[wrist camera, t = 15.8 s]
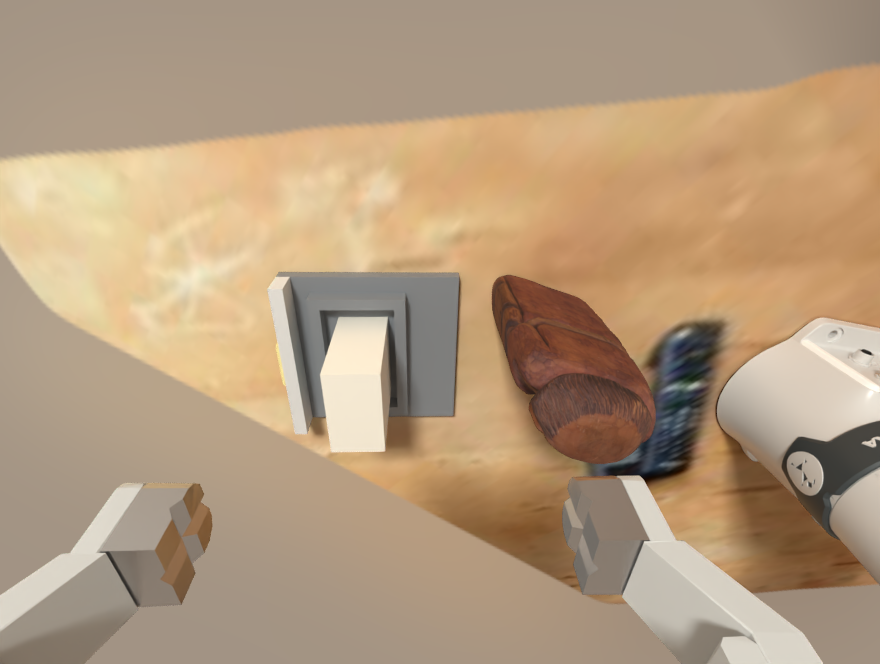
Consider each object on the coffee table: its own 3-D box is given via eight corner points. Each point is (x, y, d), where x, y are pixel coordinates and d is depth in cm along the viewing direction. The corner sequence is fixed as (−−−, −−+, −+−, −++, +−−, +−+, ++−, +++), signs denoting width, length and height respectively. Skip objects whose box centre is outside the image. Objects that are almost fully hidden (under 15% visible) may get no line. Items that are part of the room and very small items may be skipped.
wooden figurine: (470, 319, 44) (497, 461, 28) (499, 261, 41) (546, 384, 25) (576, 356, 46) (654, 503, 31) (610, 303, 43) (715, 438, 28)
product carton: (387, 316, 42) (380, 374, 34) (391, 386, 46) (385, 451, 38) (336, 316, 42) (317, 374, 34) (344, 386, 46) (328, 452, 38)
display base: (458, 272, 41) (461, 289, 38) (452, 409, 49) (454, 432, 46) (274, 272, 41) (262, 289, 38) (299, 411, 49) (291, 434, 46)
